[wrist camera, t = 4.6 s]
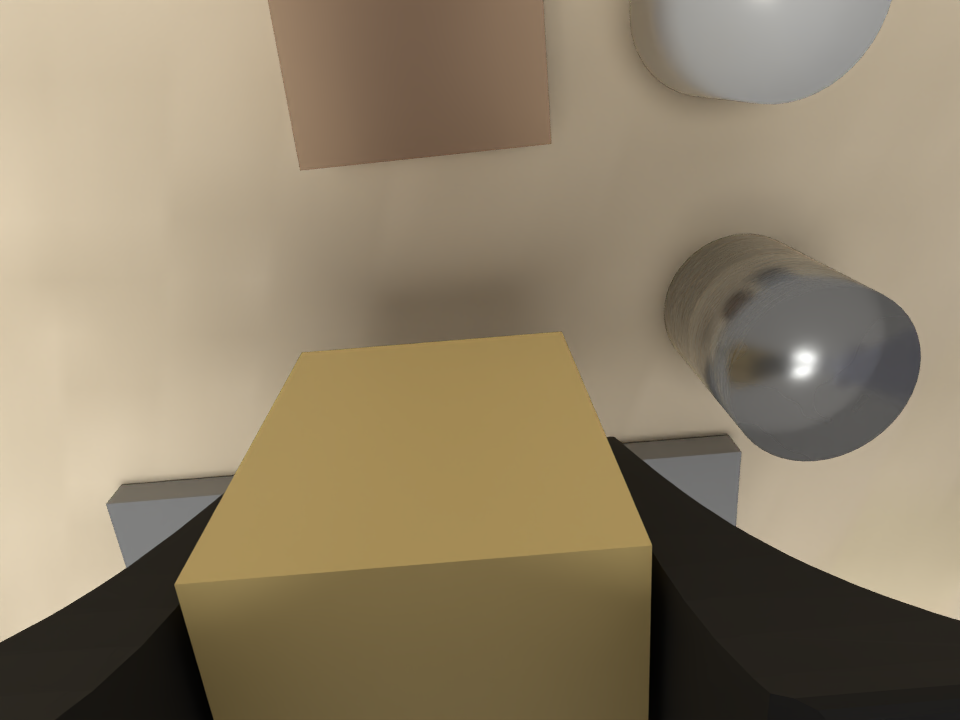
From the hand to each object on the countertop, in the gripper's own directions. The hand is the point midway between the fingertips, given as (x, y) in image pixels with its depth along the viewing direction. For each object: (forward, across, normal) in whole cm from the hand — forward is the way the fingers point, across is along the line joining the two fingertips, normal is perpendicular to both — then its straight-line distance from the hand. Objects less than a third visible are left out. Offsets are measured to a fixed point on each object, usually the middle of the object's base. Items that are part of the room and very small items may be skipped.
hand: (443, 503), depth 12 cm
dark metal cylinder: (+8, -8, 0) cm, 12 cm away
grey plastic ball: (+8, -7, -8) cm, 13 cm away
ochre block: (+2, 0, 0) cm, 2 cm away
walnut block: (+9, 0, -8) cm, 11 cm away
